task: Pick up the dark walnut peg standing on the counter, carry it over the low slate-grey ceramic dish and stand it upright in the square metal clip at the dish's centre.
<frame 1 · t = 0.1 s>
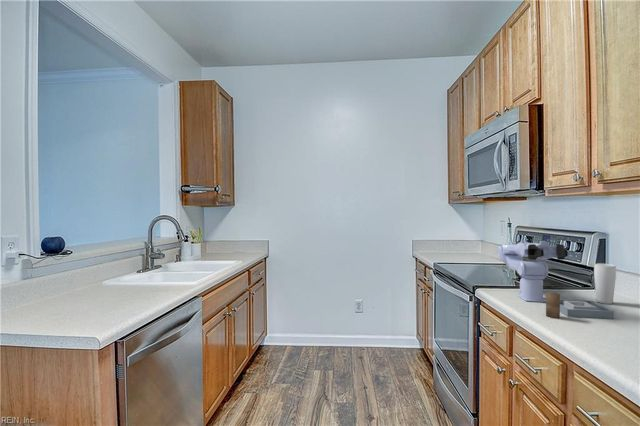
hand: (554, 253, 124), 22 cm above the worktop, fingers open, 7 cm apart
walnut peg: (552, 316, 121), on the worktop
candle dish: (579, 311, 127), on the worktop
drinking glass: (604, 303, 138), on the worktop
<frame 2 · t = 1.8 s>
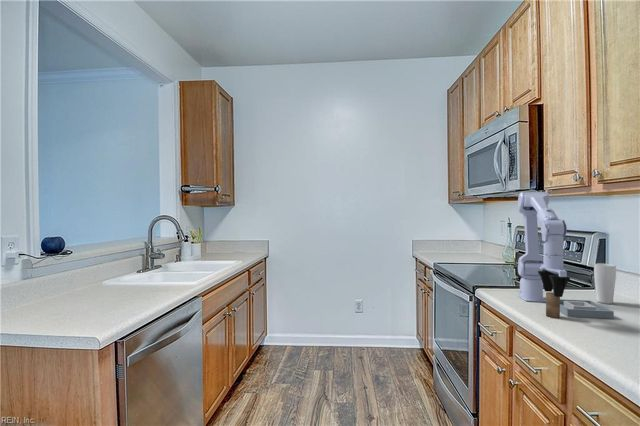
hand: (553, 293, 121), 8 cm above the worktop, fingers open, 7 cm apart
nothing on the worktop moved.
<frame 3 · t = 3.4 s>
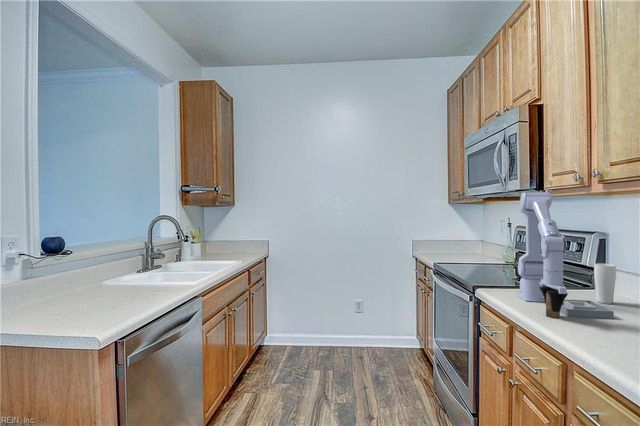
hand: (552, 309, 121), 2 cm above the worktop, fingers closed on walnut peg, 4 cm apart
walnut peg: (552, 316, 121), on the worktop, touching gripper
everything else where it was.
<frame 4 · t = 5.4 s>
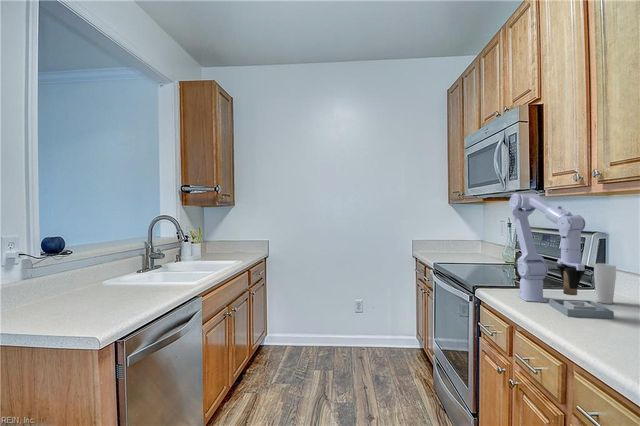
hand: (570, 287, 125), 9 cm above the worktop, fingers closed on walnut peg, 4 cm apart
walnut peg: (570, 293, 125), point 7 cm above the worktop, touching gripper
everything else where it was.
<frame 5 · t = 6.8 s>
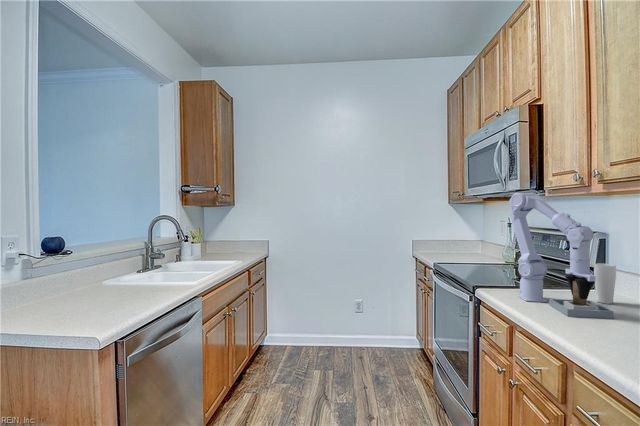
hand: (579, 297, 127), 5 cm above the worktop, fingers closed on walnut peg, 4 cm apart
walnut peg: (579, 303, 127), point 3 cm above the worktop, touching gripper
everything else where it was.
when the fingers open (4 cm above the worktop, at t = 7.8 s): walnut peg drops 1 cm, resting on candle dish.
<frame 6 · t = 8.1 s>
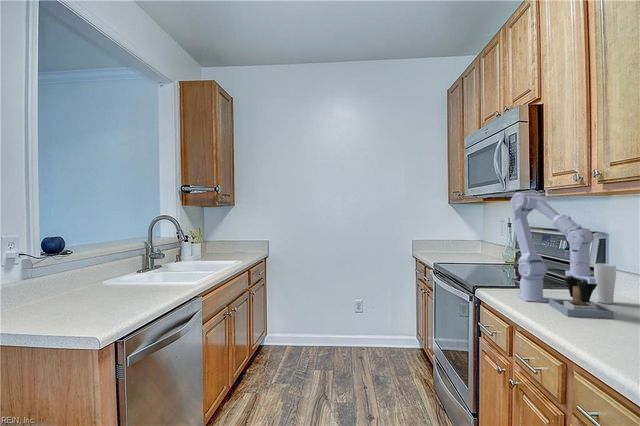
hand: (579, 299, 127), 4 cm above the worktop, fingers open, 6 cm apart
walnut peg: (579, 309, 127), point 1 cm above the worktop, touching candle dish
everything else where it was.
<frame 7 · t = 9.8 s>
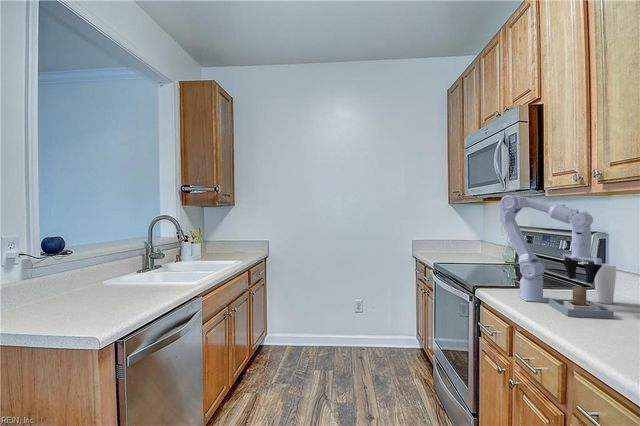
hand: (580, 280, 131), 10 cm above the worktop, fingers open, 7 cm apart
nothing on the worktop moved.
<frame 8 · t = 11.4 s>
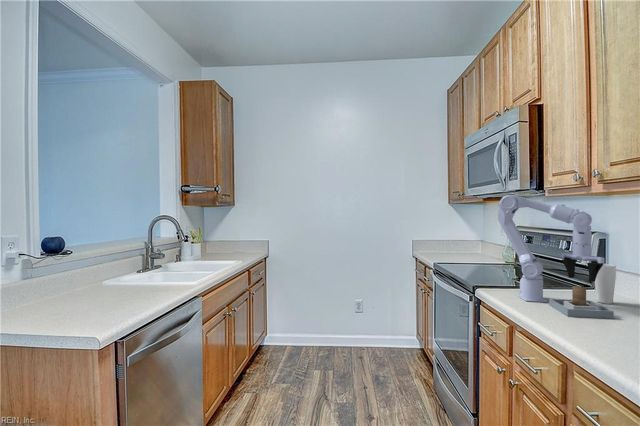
hand: (581, 279, 133), 10 cm above the worktop, fingers open, 7 cm apart
nothing on the worktop moved.
at the end: walnut peg 0.0 cm off-centre on the candle dish, point 0.8 cm above the candle dish's base; walnut peg tilted 1°; the gripper is holding nothing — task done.
